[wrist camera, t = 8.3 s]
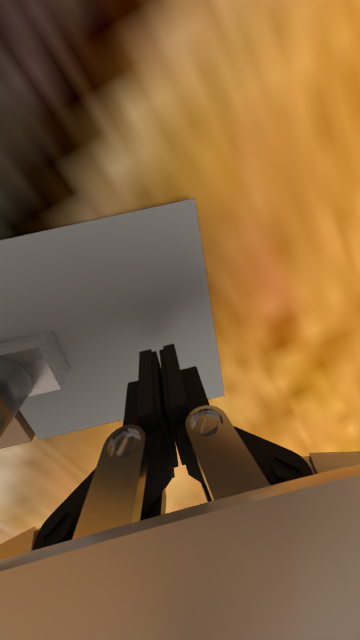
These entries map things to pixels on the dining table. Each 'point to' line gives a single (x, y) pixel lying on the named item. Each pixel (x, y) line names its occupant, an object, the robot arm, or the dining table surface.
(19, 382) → the bolt
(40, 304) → the lock base
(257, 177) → the dining table surface
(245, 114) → the dining table surface
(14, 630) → the robot arm
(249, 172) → the dining table surface
